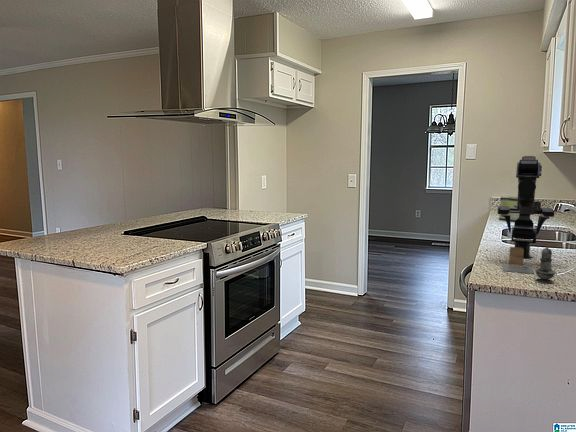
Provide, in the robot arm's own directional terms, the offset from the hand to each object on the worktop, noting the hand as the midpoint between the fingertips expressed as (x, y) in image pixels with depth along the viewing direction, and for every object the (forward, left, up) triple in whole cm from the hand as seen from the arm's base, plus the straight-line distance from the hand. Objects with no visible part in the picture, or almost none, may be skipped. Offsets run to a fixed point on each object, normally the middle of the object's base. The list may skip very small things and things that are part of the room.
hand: (523, 233), depth 170 cm
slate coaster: (+11, -2, -12) cm, 16 cm away
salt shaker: (+25, +5, -12) cm, 28 cm away
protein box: (-136, +5, -12) cm, 137 cm away
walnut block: (0, -2, -12) cm, 12 cm away
